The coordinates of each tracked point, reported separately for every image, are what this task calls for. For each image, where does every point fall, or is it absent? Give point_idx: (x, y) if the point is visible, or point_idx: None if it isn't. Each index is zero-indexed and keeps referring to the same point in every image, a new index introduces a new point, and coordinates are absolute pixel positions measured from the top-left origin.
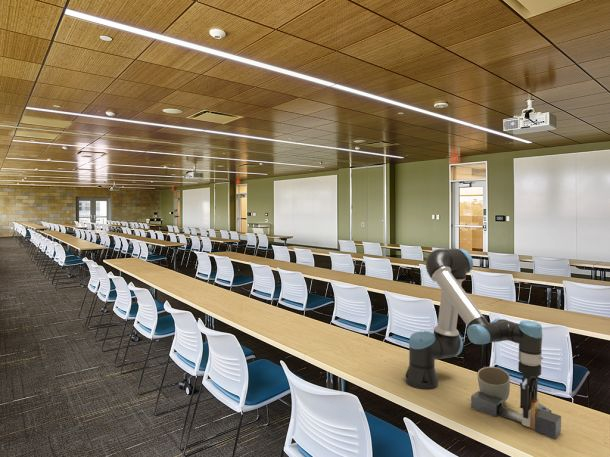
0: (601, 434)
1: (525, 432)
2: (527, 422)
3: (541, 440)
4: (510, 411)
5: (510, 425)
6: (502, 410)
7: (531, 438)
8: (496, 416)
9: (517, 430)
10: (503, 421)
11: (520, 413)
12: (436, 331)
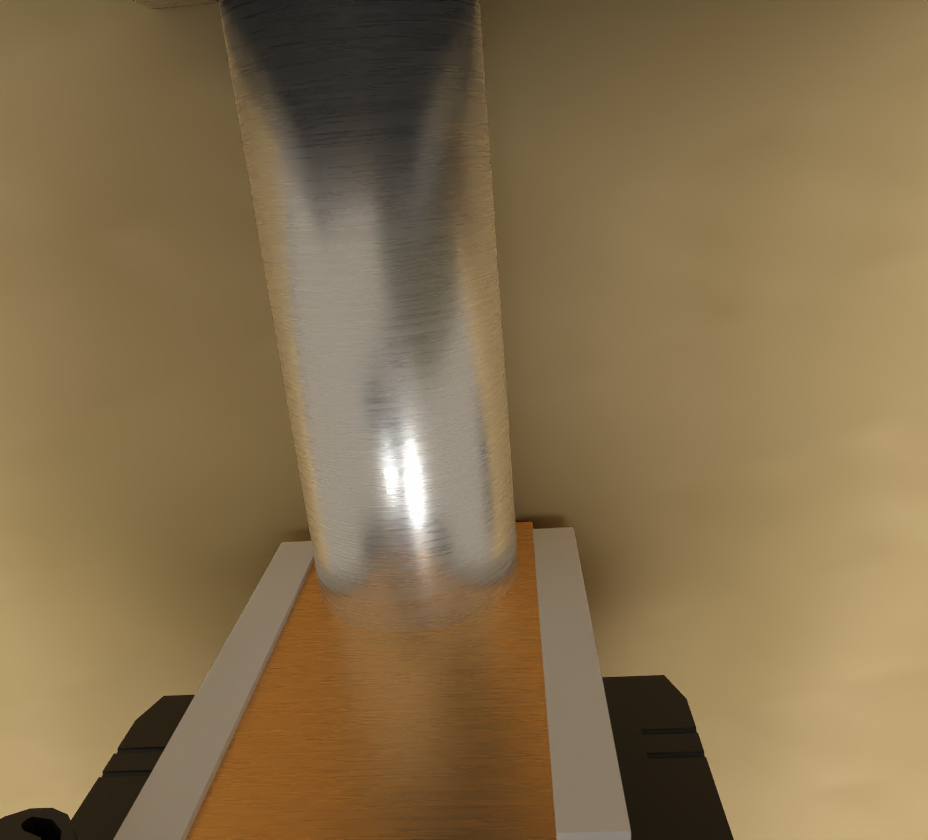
0: None
1: (132, 636)
2: None
3: None
4: (304, 313)
5: (118, 383)
6: (241, 93)
7: (46, 744)
8: (162, 4)
9: (68, 533)
10: (139, 217)
11: (382, 544)
12: None
